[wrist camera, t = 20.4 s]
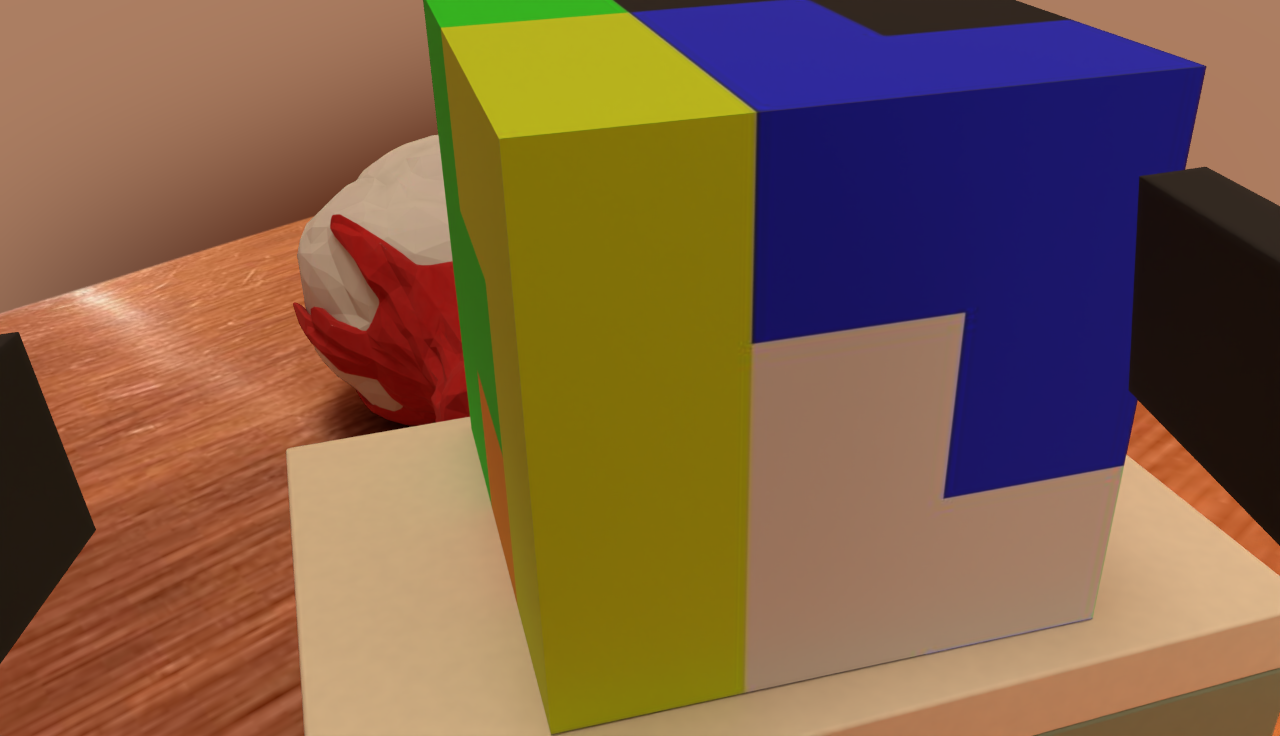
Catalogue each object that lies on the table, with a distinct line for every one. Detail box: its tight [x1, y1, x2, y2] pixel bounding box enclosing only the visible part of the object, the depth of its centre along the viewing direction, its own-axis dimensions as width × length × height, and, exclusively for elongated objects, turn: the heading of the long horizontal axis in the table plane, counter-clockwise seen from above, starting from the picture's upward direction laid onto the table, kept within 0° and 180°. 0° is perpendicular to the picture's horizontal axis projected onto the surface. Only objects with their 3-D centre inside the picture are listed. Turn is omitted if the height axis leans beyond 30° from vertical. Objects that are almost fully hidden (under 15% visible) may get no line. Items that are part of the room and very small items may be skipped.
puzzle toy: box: [423, 0, 1206, 735], centre depth 22 cm, size 10×10×10 cm
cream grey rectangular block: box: [286, 417, 1280, 736], centre depth 26 cm, size 18×12×6 cm, turn 107°
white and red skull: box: [293, 135, 470, 426], centre depth 38 cm, size 9×11×15 cm
